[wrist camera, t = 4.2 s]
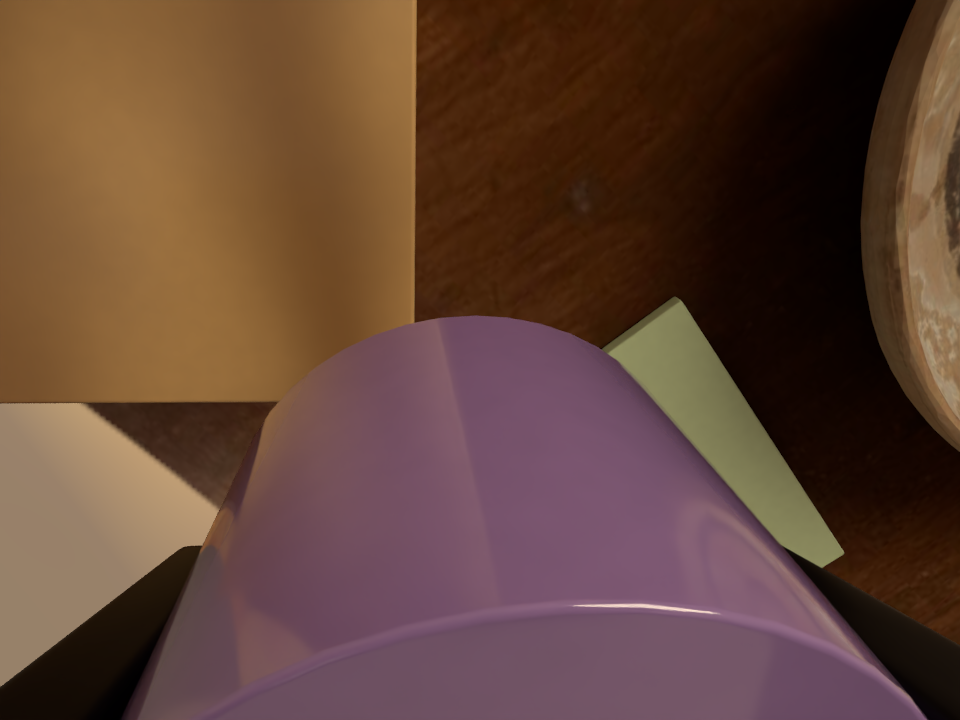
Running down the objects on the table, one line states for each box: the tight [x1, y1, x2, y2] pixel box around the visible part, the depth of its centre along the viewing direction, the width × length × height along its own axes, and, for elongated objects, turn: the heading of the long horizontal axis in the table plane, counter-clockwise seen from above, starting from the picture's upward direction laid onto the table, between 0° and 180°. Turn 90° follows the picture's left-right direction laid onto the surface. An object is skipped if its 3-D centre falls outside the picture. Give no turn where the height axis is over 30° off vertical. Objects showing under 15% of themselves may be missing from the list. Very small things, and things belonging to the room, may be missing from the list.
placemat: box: [601, 297, 844, 568], centre depth 24 cm, size 14×10×1 cm
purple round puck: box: [121, 316, 928, 720], centre depth 6 cm, size 6×6×4 cm
